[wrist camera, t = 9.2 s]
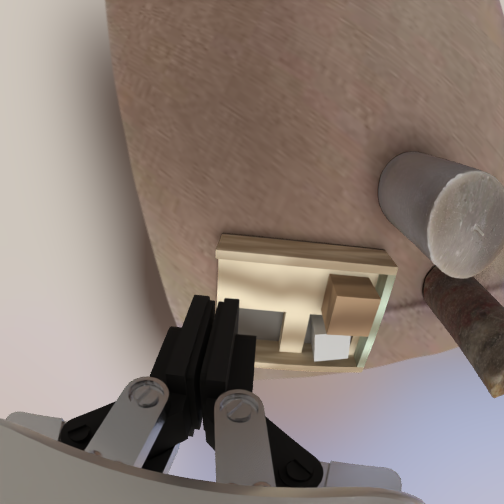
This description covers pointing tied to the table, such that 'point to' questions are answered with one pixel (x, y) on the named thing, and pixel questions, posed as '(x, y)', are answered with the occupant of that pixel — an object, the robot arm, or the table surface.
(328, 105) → the table surface
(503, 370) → the brown wooden cylinder
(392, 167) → the pillar candle
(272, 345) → the tray
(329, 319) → the walnut block
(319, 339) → the trapped grey block
